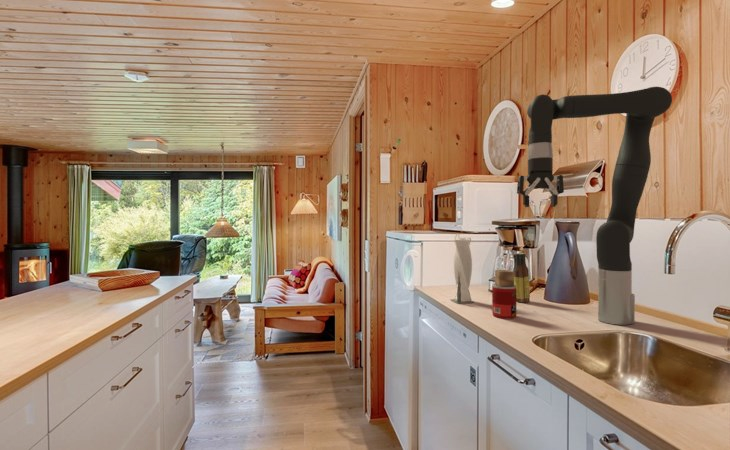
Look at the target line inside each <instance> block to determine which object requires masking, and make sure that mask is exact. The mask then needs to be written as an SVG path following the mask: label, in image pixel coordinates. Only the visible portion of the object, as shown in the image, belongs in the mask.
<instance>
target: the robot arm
mask: <svg viewBox="0 0 730 450" xmlns="http://www.w3.org/2000/svg"><path fill="white" fill-rule="evenodd" d="M672 103H673V96H672V94H671V92H670V91H669V90H668V89H667V88H664V87H661V86H650V87H646V88H642V89H637V90H634V91H633V90H632V91H626V92H617V93H616V92H615V93H603V94H601V93H600V94H598V93H597V94H580V95H579V94H577V95H576V94H575V95H565V96H563V97H561V98H557V99H552V97H551V96H549V95H548V94H538V95H537V96H535V97H533V99H532V100H531V102H530V104H529V105H528V107H527V108H526V109H527V111H526V112H527V115H528V118H529V119H530V127H529V131H528V150H527V175H526V176H525V175H520V176H519V175H518V177H517V187H516V193H517V195H521V196H522V204H523V206H524V208H529V207H530V193H531V192H532V191H533V190H537V189H541V190H543V189H546V190H547V191H548V192H549V193H550V207H552V208H555V207H557V205H558V199H559V198H558V196H559V195H560V194H563V193H564V190H565V189H564V187H565V186H564V176H563V175H562V174H560V175H554V173H553V170H554V169H553V168H554V162H553V161H554V158H553V157H554V153H553V152H554V151H553V133H552V128H553V127H552V126H553V121H554V120H558V119H577V118H578V119H580V118H581V119H582V118H583V119H584V118H591V117H598V116H600V117H601V116H607V115H615V114H616V115H617V114H620V115H621V114H625V123H624V131H623V136H622V140H621V143H620V147H619V151H618V155H617V157H616V162H615V165H614V169H613V170H614V171H613V174H612V181H611V204H610V205H611V207H610V210H609V213H608V216H607V219H606V221H605V222H603V223H602V224H601V225H600V226H599V227H598V229H597V232H596V239H595V241H596V242H595V245H596V247H595V248H596V260H597V266H598V270H597V271H598V274H597V275H598V278H597V279H598V281H597V284H598V286H597V288H598V289H597V290H598V291H597V294H598V296H597V301H598V302H597V303H598V304H597V305H598V307H597V309H598V310H597V315H598V316H597V317H598V319H597V320H598V321H600V322H602V323H606V324H612V325H620V326H625V325H631V324H635V321H636V319H635V312H636V311H635V310H636V308H635V303H636V301H635V299H636V298H635V297H636V296H635V294H634V293H632V291H633V289H632V287H633V285H632V284H633V283H632V282H633V281H632V280H633V279H632V274H633V272H632V271H633V268H632V267H633V266H632V265H633V264H632V260H631V247H630V246H631V245H630V244H631V242H632V241H633V239H634V234H635V224H636V217H637V211H638V208H639V207H638V206H639V204H640V201H641V198H642V196H643V193H644V189H645V186H646V183H647V179H648V177H649V176H648V175H649V173H650V169H651V163H652V162H651V161H652V158H651V157H652V155H651V148H650V134H651V131H652V127H653V124H654V120H655V118H657V117H659V116H661V115H663V114H664V113H665V112H666V111H668V110H669V109H670V108H671V105H672ZM526 181H527V182H528V185H527V186H526V188H524V187H525V185H524V183H525V182H526ZM553 181H554V182H555V183H556V184H555V185H556V187H555V186H554V184H553ZM524 189H525V190H524Z"/></svg>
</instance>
